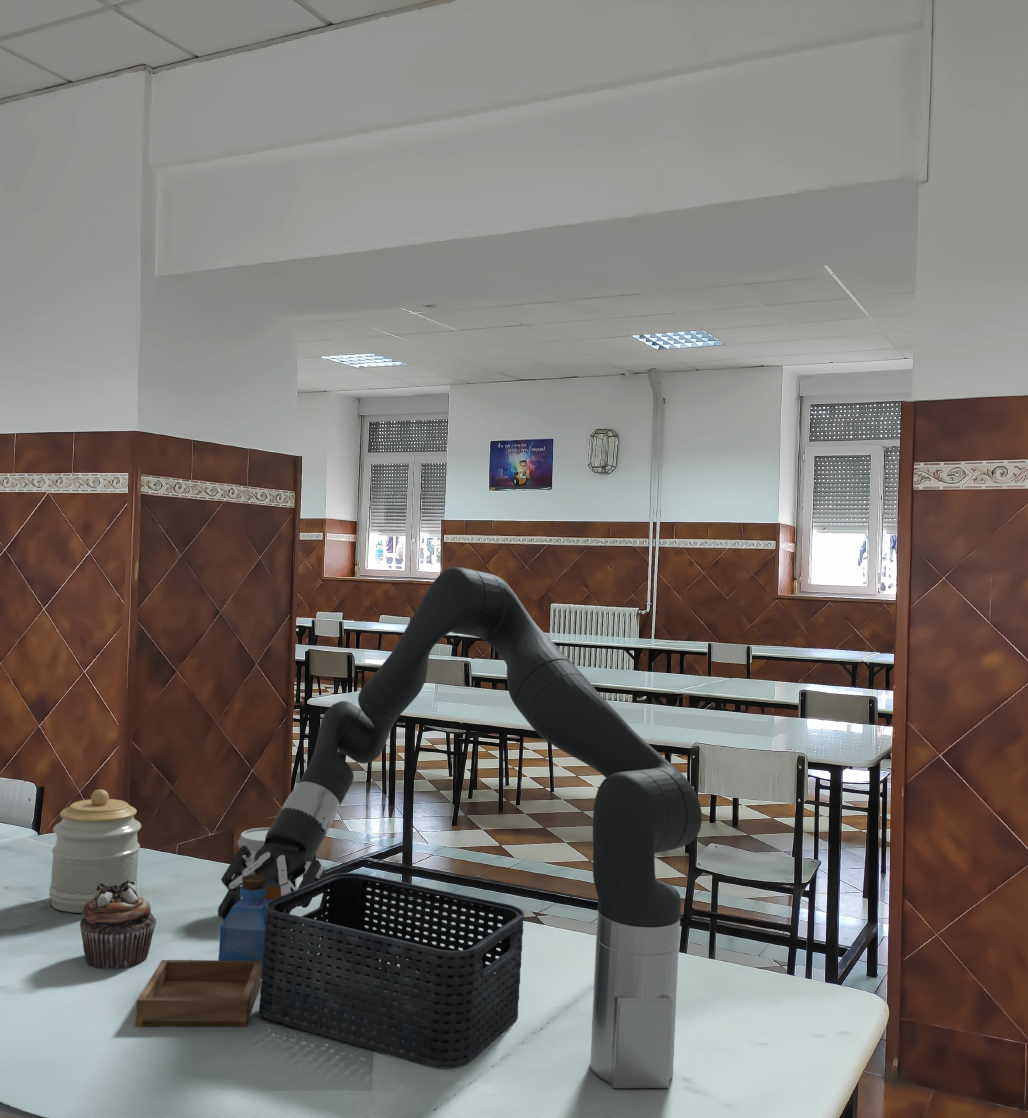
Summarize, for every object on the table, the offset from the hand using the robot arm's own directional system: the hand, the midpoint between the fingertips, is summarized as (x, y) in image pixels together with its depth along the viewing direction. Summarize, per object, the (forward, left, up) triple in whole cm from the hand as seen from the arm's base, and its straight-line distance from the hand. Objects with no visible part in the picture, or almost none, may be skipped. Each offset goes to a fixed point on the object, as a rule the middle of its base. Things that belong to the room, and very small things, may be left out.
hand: (246, 924), depth 135 cm
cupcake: (+4, +17, -6) cm, 19 cm away
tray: (-11, +3, -6) cm, 13 cm away
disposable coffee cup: (+25, 0, -6) cm, 26 cm away
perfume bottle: (+1, -1, -6) cm, 7 cm away
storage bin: (-13, -20, -7) cm, 25 cm away
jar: (+28, +27, -6) cm, 40 cm away
